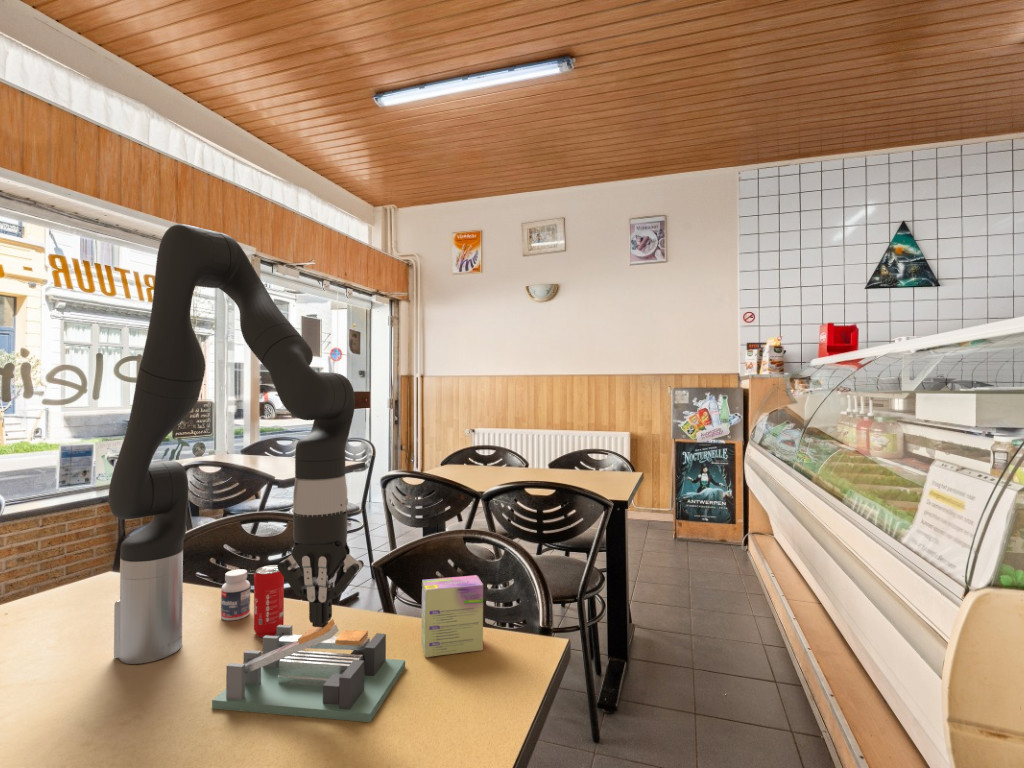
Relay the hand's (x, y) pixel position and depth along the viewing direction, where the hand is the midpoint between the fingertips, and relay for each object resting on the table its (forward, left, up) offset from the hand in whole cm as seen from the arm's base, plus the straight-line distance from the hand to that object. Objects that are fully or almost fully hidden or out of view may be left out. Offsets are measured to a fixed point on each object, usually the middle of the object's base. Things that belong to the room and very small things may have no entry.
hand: (320, 624), depth 79 cm
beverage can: (-21, +21, -12) cm, 32 cm away
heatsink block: (-2, +5, -10) cm, 12 cm away
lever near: (-5, 0, -5) cm, 7 cm away
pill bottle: (-32, +27, -12) cm, 44 cm away
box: (+15, +20, -12) cm, 28 cm away
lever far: (-5, +9, -8) cm, 13 cm away
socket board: (-3, +5, -12) cm, 13 cm away
